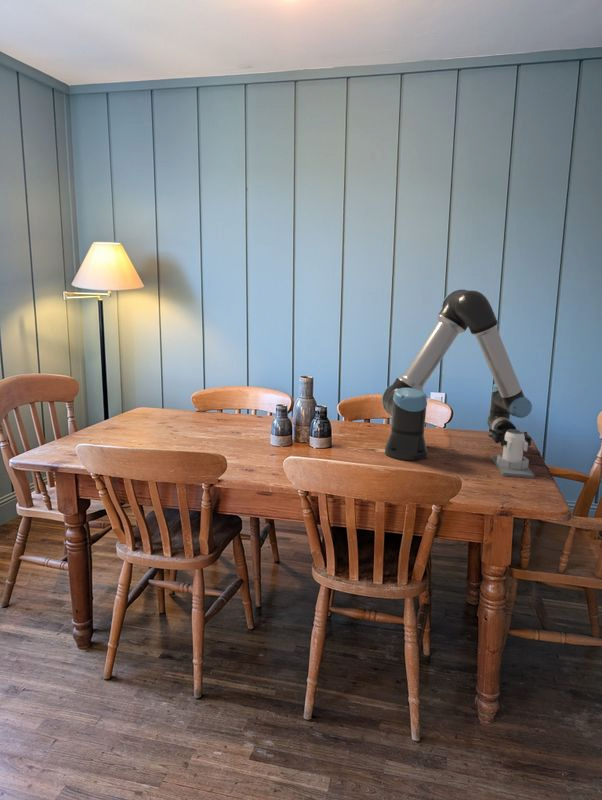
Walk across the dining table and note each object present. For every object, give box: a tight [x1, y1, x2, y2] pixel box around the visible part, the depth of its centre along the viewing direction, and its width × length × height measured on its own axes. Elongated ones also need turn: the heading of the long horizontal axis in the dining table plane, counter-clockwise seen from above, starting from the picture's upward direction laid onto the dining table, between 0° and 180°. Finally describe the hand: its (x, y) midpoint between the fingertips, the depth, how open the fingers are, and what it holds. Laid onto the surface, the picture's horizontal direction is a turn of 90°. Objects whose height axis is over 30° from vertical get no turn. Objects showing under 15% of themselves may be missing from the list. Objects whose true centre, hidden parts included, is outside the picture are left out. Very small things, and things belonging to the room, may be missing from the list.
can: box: [502, 428, 525, 462], centre depth 202 cm, size 6×6×12 cm
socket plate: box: [491, 453, 535, 479], centre depth 203 cm, size 10×20×4 cm, turn 173°
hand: (518, 446), depth 196 cm, fingers open, 4 cm apart
